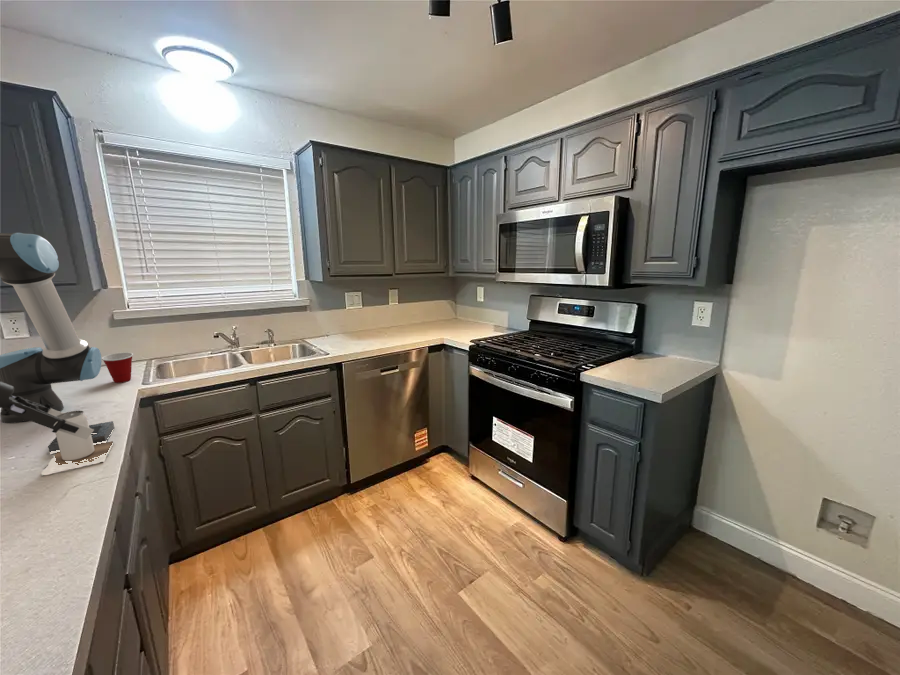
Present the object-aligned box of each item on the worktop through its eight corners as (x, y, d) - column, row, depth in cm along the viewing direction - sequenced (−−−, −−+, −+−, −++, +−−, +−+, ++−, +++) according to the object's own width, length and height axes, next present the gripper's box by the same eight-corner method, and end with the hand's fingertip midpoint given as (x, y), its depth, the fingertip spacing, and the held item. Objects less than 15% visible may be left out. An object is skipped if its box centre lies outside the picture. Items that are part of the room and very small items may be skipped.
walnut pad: (57, 455, 106) (56, 452, 105) (113, 444, 112) (112, 441, 112) (41, 476, 96) (40, 472, 96) (103, 462, 102) (103, 459, 102)
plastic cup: (107, 386, 162) (101, 359, 160) (105, 381, 169) (100, 355, 167) (139, 380, 170) (134, 355, 167) (136, 375, 177) (131, 350, 174)
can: (91, 447, 108) (82, 408, 106) (97, 453, 105) (88, 413, 102) (59, 457, 103) (49, 416, 100) (65, 464, 99) (54, 421, 97)
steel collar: (63, 437, 116) (61, 430, 116) (114, 428, 122) (112, 421, 122) (50, 454, 106) (47, 446, 106) (106, 443, 113) (104, 435, 112)
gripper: (-43, 397, 93) (57, 430, 108) (-26, 420, 80) (85, 453, 95) (-15, 371, 96) (78, 406, 112) (6, 388, 83) (108, 426, 98)
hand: (81, 428), depth 103 cm, fingers open, 13 cm apart
